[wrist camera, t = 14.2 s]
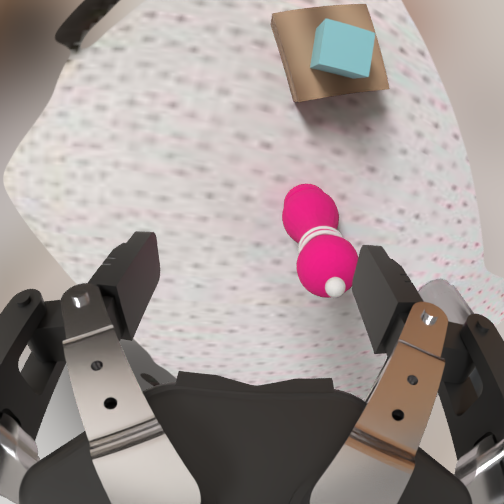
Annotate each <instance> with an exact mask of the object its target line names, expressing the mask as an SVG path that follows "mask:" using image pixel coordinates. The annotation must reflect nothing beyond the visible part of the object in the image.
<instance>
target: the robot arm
mask: <svg viewBox="0 0 504 504" xmlns="http://www.w3.org/2000/svg"><path fill="white" fill-rule="evenodd" d="M159 278H160V263H159V255H158V247H157V239H156V235H155V233H154V232H135V233H134V234H133V235H132V237H131V238H130V239H129V240H128V242H127V243H122V244H121V245H119V246H118V247H116V248H115V249H113V250H112V252H111V253H110V254H109V255H108V257H107V258H106V259H105V261H104V262H103V265H101V266H100V267H99V268H98V270H97V271H96V272H95V274H94V275H93V276H92V278H91V279H90V280H89V282H88V283H83V284H78V285H75V286H73V287H71V288H69V289H68V290H67V291H66V292H65V293H64V294H63V295H62V298H61V300H55V301H45V302H44V301H43V298H42V295H41V293H40V292H39V291H38V290H36V289H27V290H24V291H22V292H20V293H18V294H16V295H15V296H14V297H13V298H12V299H11V300H10V302H9V303H8V304H7V306H6V307H5V308H4V310H3V311H2V313H1V314H0V495H1V496H3V497H5V498H7V499H9V500H11V501H12V502H14V503H16V504H504V341H503V339H502V337H501V336H500V334H499V333H498V331H497V329H496V328H495V326H494V324H493V323H492V322H491V321H490V320H489V319H487V318H486V317H484V316H482V315H479V314H474V313H473V311H472V310H471V308H470V307H469V306H468V304H467V303H466V301H465V300H464V299H463V297H462V296H461V294H460V293H459V292H458V290H457V289H456V288H455V286H454V285H450V284H449V283H448V282H447V281H446V280H443V279H438V280H434V281H432V282H429V283H428V284H426V285H425V286H424V287H422V288H421V289H420V290H419V292H418V291H417V290H416V288H415V286H414V285H413V283H411V280H410V279H409V277H408V276H407V274H406V272H405V271H404V269H403V268H402V266H400V265H399V264H398V263H397V262H395V261H394V260H393V259H390V258H389V256H388V255H387V253H386V252H385V250H384V249H383V247H382V246H373V245H363V246H362V248H361V250H360V254H359V257H358V261H357V265H356V269H355V273H354V276H353V281H352V291H353V295H354V297H355V300H356V303H357V305H358V308H359V311H360V313H361V316H362V319H363V322H364V324H365V327H366V330H367V333H368V336H369V339H370V341H371V344H372V347H373V350H374V353H375V354H382V353H387V356H388V357H387V359H386V361H385V363H384V365H383V367H382V369H381V371H380V372H379V374H378V376H377V378H376V380H375V382H374V384H373V386H372V387H371V389H370V391H369V393H368V395H367V396H366V398H365V400H364V401H363V400H362V399H360V398H358V397H356V396H354V395H352V394H349V393H347V392H344V391H340V390H336V389H334V387H333V381H332V378H318V379H291V380H287V381H282V382H276V383H271V384H265V385H259V386H254V385H249V384H246V383H242V382H238V381H235V380H231V379H228V378H224V377H221V376H218V375H210V374H200V373H191V372H183V371H179V372H178V376H177V381H176V382H170V383H165V384H160V385H157V386H154V387H151V388H149V389H146V390H145V391H143V392H142V391H141V388H140V386H139V384H138V382H137V380H136V378H135V376H134V374H133V372H132V369H131V367H130V365H129V363H128V361H127V358H126V356H125V354H124V351H123V349H122V347H121V344H120V339H125V340H131V341H132V340H133V337H134V335H135V333H136V330H137V328H138V326H139V323H140V321H141V319H142V317H143V314H144V312H145V310H146V308H147V305H148V303H149V301H150V299H151V297H152V294H153V292H154V290H155V288H156V286H157V284H158V281H159ZM26 345H28V346H29V348H30V350H31V351H32V352H31V354H30V356H29V357H28V360H27V361H26V363H25V365H24V367H23V369H22V371H21V373H20V371H19V368H18V361H19V357H20V356H21V354H22V352H23V350H24V348H25V347H26ZM66 363H67V367H68V372H69V376H70V380H71V384H72V388H73V392H74V396H75V399H76V403H77V406H78V410H79V413H80V416H81V419H82V422H83V425H84V428H85V431H84V432H83V433H81V434H80V435H78V436H77V437H75V438H74V439H72V440H71V441H69V442H68V443H66V444H65V445H63V446H61V447H60V448H58V449H57V450H55V451H54V452H52V453H51V454H49V455H47V456H46V457H44V458H43V459H41V460H40V458H39V457H38V449H37V445H36V442H35V439H36V436H37V433H38V430H39V428H40V425H41V422H42V419H43V417H44V414H45V412H46V409H47V406H48V404H49V401H50V399H51V396H52V394H53V392H54V389H55V387H56V384H57V382H58V379H59V377H60V375H61V373H62V370H63V368H64V366H65V364H66ZM437 392H438V394H439V396H440V400H441V403H442V406H443V409H444V412H445V416H446V419H447V422H448V426H449V429H450V433H451V436H452V440H453V444H454V448H455V452H456V456H457V460H458V462H457V464H456V468H455V474H452V473H451V472H450V471H448V470H447V469H446V468H445V467H443V466H442V465H441V464H439V463H438V462H437V461H436V460H435V459H433V458H432V457H431V456H430V455H428V454H427V453H426V452H425V451H424V450H422V449H421V448H420V447H419V444H420V442H421V439H422V436H423V434H424V431H425V428H426V426H427V423H428V420H429V417H430V414H431V411H432V408H433V405H434V402H435V399H436V395H437Z"/></svg>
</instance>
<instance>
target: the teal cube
mask: <svg viewBox="0 0 504 504" xmlns="http://www.w3.org/2000/svg"><path fill="white" fill-rule="evenodd" d="M374 39H375V33H374V32H371V31H368V30H365V29H362V28H359V27H355V26H352V25H349V24H345V23H342V22H338V21H334V20H330V19H325V20H324V21H323V22H322V23H321V24H320V25H319V26H318V27H317V28H316V33H315V39H314V45H313V52H312V58H311V64H310V68H312V69H316V70H321V71H325V72H329V73H333V74H337V75H341V76H345V77H349V78H352V79H356V78H365V77H369V72H370V66H371V60H372V53H373V46H374Z"/></svg>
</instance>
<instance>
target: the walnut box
mask: <svg viewBox="0 0 504 504" xmlns="http://www.w3.org/2000/svg"><path fill="white" fill-rule="evenodd" d="M325 19H330V20H334V21H338V22H342V23H345V24H349V25H352V26H355V27H359V28H362V29H365V30H368V31H371V32H374V33H375V30H374V27H373V23H372V20H371V17H370V14H369V11H368V8H367V5H366V4H351V5H334V6H322V7H313V8H304V9H297V10H291V11H284V12H279V13H273V14H272V20H271V27H272V30H273V33H274V37H275V40H276V43H277V46H278V49H279V53H280V56H281V59H282V63H283V66H284V69H285V73H286V76H287V80H288V84H289V87H290V91H291V94H292V98H293V101H295V102H302V101H307V100H313V99H318V98H324V97H330V96H337V95H343V94H350V93H358V92H366V91H375V90H385V89H389V85H388V80H387V75H386V71H385V67H384V63H383V59H382V55H381V51H380V47H379V44H378V40H377V37H376V33H375V39H374V46H373V53H372V60H371V66H370V72H369V77H365V78H356V79H352V78H349V77H345V76H341V75H337V74H333V73H329V72H325V71H321V70H316V69H312V68H310V64H311V58H312V52H313V45H314V39H315V33H316V28H317V27H318V26H319V25H320V24H321V23H322V22H323V21H324V20H325Z"/></svg>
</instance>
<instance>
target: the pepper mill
mask: <svg viewBox="0 0 504 504" xmlns="http://www.w3.org/2000/svg"><path fill="white" fill-rule="evenodd" d="M282 220H283V224H284V227H285V229H286V231H287V233H288V235H289V236H290V237H291V238H292V239H293V240H294V241H296V242H297V243H299V245H298V253H299V256H298V260H297V273H298V277H299V279H300V281H301V283H302V285H303V286H304V287H305V288H306V289H307V290H308V291H309V292H311V293H312V294H314V295H317V296H320V297H327V298H329V297H334V298H336V297H340V296H341V295H342V294H343V293H344V292H346V291H347V290H349V289H350V288H351V287H352V281H353V276H354V273H355V269H356V265H357V261H358V255H357V252H356V250H355V249H354V247H353V246H352V245H351V243H350V242H348V241H347V240H345V239H344V238H343V236H342V234H341V233H340V232H339V231H338V230H337V227H338V221H339V214H338V210H337V207H336V205H335V203H334V201H333V200H332V198H331V197H330V196H329V195H327V194H326V193H324V192H323V191H322V190H321V189H320V188H319V187H317V186H315V185H312V184H301V185H298V186H296V187H294V188H293V189H291V190H290V191H289V192H288V194H287V195H286V197H285V200H284V209H283V214H282Z"/></svg>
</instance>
